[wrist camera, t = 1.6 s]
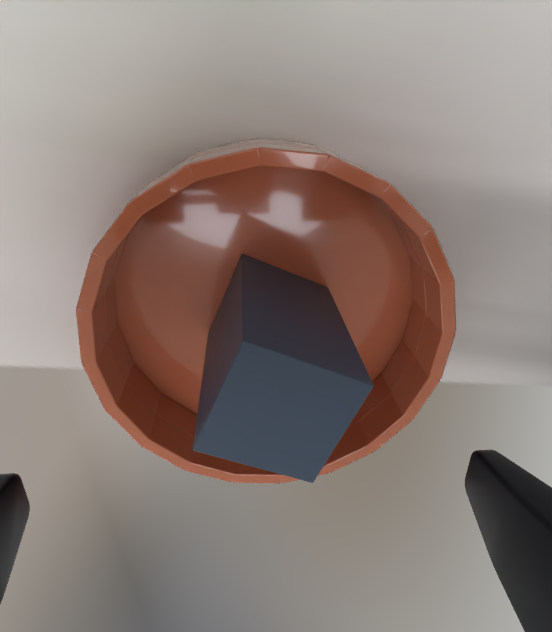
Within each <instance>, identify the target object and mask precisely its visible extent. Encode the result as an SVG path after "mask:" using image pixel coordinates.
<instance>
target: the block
mask: <svg viewBox="0 0 552 632" xmlns="http://www.w3.org/2000/svg"><path fill="white" fill-rule="evenodd" d="M373 386H374V385H373V383H372V381H371V378H370V376H369V374H368V372H367V370H366V368H365V365H364V363H363V361H362V359H361V357H360V355H359V353H358V350H357V348H356V346H355V344H354V342H353V340H352V338H351V335H350V333H349V331H348V329H347V327H346V325H345V323H344V320H343V318H342V316H341V314H340V312H339V310H338V308H337V305H336V303H335V301H334V299H333V297H332V295H331V293H330V290H329V288H328V287H326V286H323V285H321V284H318V283H316V282H313V281H311V280H308V279H306V278H303V277H300V276H298V275H295V274H293V273H290V272H288V271H285V270H283V269H280V268H278V267H275V266H273V265H270V264H267V263H265V262H262V261H260V260H257V259H255V258H252V257H250V256H247V255H245V254H241V256H240V259H239V261H238V264H237V266H236V268H235V271H234V273H233V275H232V278H231V280H230V282H229V285H228V287H227V290H226V292H225V294H224V297H223V299H222V301H221V304H220V306H219V309H218V311H217V313H216V316H215V318H214V320H213V323H212V325H211V328H210V330H209V332H208V338H207V346H206V353H205V361H204V368H203V376H202V383H201V390H200V398H199V405H198V413H197V420H196V428H195V435H194V443H193V450H194V451H197V452H201V453H204V454H208V455H212V456H215V457H219V458H223V459H226V460H230V461H234V462H237V463H241V464H245V465H248V466H252V467H256V468H259V469H263V470H267V471H270V472H274V473H278V474H281V475H285V476H289V477H293V478H296V479H300V480H304V481H307V482H311V483H313V482H314V480H315V479H316V477H317V476H318V474H319V473H320V471H321V469H322V468H323V466H324V465H325V463H326V461H327V460H328V458H329V457H330V455H331V453H332V452H333V450H334V449H335V447H336V445H337V444H338V442H339V441H340V439H341V438H342V436H343V434H344V433H345V431H346V430H347V428H348V426H349V425H350V423H351V422H352V420H353V418H354V417H355V415H356V414H357V412H358V410H359V409H360V407H361V406H362V404H363V403H364V401H365V399H366V398H367V396H368V395H369V393H370V391H371V390H372V388H373Z"/></svg>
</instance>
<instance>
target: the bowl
mask: <svg viewBox="0 0 552 632" xmlns="http://www.w3.org/2000/svg"><path fill="white" fill-rule="evenodd" d="M241 254H245V255H247V256H250V257H252V258H255V259H257V260H260V261H262V262H265V263H267V264H270V265H273V266H275V267H278V268H280V269H283V270H285V271H288V272H290V273H293V274H295V275H298V276H300V277H303V278H306V279H308V280H311V281H313V282H316V283H318V284H321V285H323V286H326V287H328V288H329V290H330V293H331V295H332V297H333V299H334V301H335V303H336V305H337V308H338V310H339V312H340V314H341V316H342V318H343V320H344V323H345V325H346V327H347V329H348V331H349V333H350V335H351V338H352V340H353V342H354V344H355V346H356V348H357V350H358V353H359V355H360V357H361V359H362V361H363V363H364V365H365V368H366V370H367V372H368V374H369V376H370V378H371V381H372V383H373V385H374V386H373V388H372V390H371V391H370V393H369V395H368V396H367V398H366V399H365V401H364V403H363V404H362V406H361V407H360V409H359V410H358V412H357V414H356V415H355V417H354V418H353V420H352V422H351V423H350V425H349V426H348V428H347V430H346V431H345V433H344V434H343V436H342V438H341V439H340V441H339V442H338V444H337V445H336V447H335V449H334V450H333V452H332V453H331V455H330V457H329V458H328V460H327V461H326V463H325V465H324V466H323V468H322V469H321V471H320V473H319V474H318V475H323V474H328V473H329V472H333V471H335V470H337V469H339V468H342V467H344V466H346V465H348V464H350V463H352V462H354V461H356V460H358V459H360V458H363V457H365V456H367V455H369V454H371V453H373V452H374V451H376V450H377V449H378V448H380V447H381V446H382V445H383V444H384V443H386V442H387V441H388V440H389V439H390V438H392V437H393V436H394V435H395V434H397V433H398V432H399V431H400V430H401V429H403V428H404V427H405V426H406V425H407V424H409V423H410V422H411V421H412V420H413V419H414V417H415V416H416V415H417V413H418V412H419V410H420V409H421V407H422V406H423V405H424V403H425V402H426V400H427V399H428V397H429V396H430V394H431V393H432V392H433V390H434V389H435V387H436V386H437V384H438V383H439V382H440V379H441V378H442V374H443V371H444V368H445V365H446V362H447V358H448V355H449V352H450V349H451V346H452V343H453V339H454V336H455V331H456V314H455V284H454V277H453V275H452V272H451V270H450V267H449V265H448V263H447V260H446V258H445V256H444V253H443V251H442V248H441V246H440V244H439V241H438V239H437V237H436V234H435V232H434V229H433V228H432V227H431V225H430V224H429V223H428V222H427V221H426V220H425V219H424V218H423V217H422V216H421V215H420V213H419V212H418V211H417V210H416V209H415V208H414V207H413V206H412V205H411V204H410V203H409V202H408V201H407V200H406V199H405V198H404V197H403V196H402V195H401V194H400V193H399V192H398V191H397V190H396V189H395V188H394V187H393V186H392V185H391V184H390V183H389V182H387V181H386V180H384V179H382V178H380V177H378V176H377V175H375V174H373V173H371V172H370V171H368V170H366V169H364V168H362V167H360V166H358V165H356V164H354V163H352V162H350V161H348V160H346V159H343V158H341V157H340V156H338V155H335V154H333V153H331V152H329V151H327V150H325V149H323V148H320V147H318V146H316V145H313V144H304V143H297V142H291V141H280V140H265V139H251V140H247V141H242V142H237V143H231V144H226V145H221V146H218V147H216V148H213V149H209V150H205V151H201V152H198V153H195V154H194V155H192V156H190V157H189V158H187V159H186V160H184V161H183V162H181V163H179V164H177V165H176V166H174V167H173V168H172V169H170V170H169V171H167V172H166V173H164V174H163V175H161V176H160V177H158V178H156V179H155V180H153V181H152V182H150V183H149V184H148V185H147V186H146V187H145V188H144V189H143V190H141V192H139V193H138V194H137V195H136V196H135V197H134V198H133V199H132V200H131V201H130V202H129V203H128V204H127V206H126V207H125V208H124V210H123V211H122V212H121V214H120V215H119V216H118V218H117V219H116V220H115V222H114V223H113V224H112V226H111V227H110V228H109V230H108V231H107V232H106V234H105V235H104V236H103V238H102V239H101V240H100V242H99V243H98V244H97V246H96V247H95V248H94V250H93V252H92V254H91V256H90V260H89V263H88V267H87V271H86V274H85V278H84V281H83V285H82V289H81V292H80V296H79V299H78V303H77V307H76V308H77V309H76V315H77V325H78V335H79V344H80V354H81V362H82V365H83V367H84V369H85V371H86V373H87V375H88V377H89V379H90V381H91V383H92V385H93V387H94V389H95V391H96V393H97V395H98V397H99V400H100V402H101V404H102V406H103V407H104V409H105V411H106V412H107V413H108V414H109V415H110V416H111V417H112V418H113V419H114V420H115V421H116V422H117V423H118V424H119V425H120V426H121V427H122V428H123V429H124V430H125V431H126V432H127V433H128V434H129V435H130V436H131V437H132V438H133V439H134V440H135V441H136V442H137V443H138V444H139V445H141V447H143V448H145V449H147V450H149V451H150V452H152V453H154V454H156V455H157V456H159V457H161V458H163V459H165V460H166V461H168V462H170V463H172V464H174V465H175V466H177V467H179V468H181V469H184V470H185V471H189V472H193V473H197V474H200V475H205V476H208V477H212V478H216V479H220V480H223V481H228V482H233V483H286V482H291V481H295V480H300V479H296V478H293V477H289V476H285V475H281V474H278V473H274V472H270V471H267V470H263V469H259V468H256V467H252V466H248V465H245V464H241V463H237V462H234V461H230V460H226V459H223V458H219V457H215V456H212V455H208V454H204V453H201V452H197V451H194V450H193V443H194V435H195V428H196V420H197V413H198V405H199V398H200V390H201V383H202V376H203V368H204V361H205V353H206V346H207V338H208V332H209V330H210V328H211V325H212V323H213V320H214V318H215V316H216V313H217V311H218V309H219V306H220V304H221V301H222V299H223V297H224V294H225V292H226V290H227V287H228V285H229V282H230V280H231V278H232V275H233V273H234V271H235V268H236V266H237V264H238V261H239V259H240V256H241Z"/></svg>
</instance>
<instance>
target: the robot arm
mask: <svg viewBox="0 0 552 632" xmlns="http://www.w3.org/2000/svg"><path fill="white" fill-rule="evenodd" d="M465 488H466V492H467V495H468V498H469V501H470V504H471V506H472V509H473V512H474V515H475V517H476V520H477V523H478V525H479V528H480V531H481V534H482V536H483V539H484V542H485V545H486V547H487V550H488V553H489V556H490V558H491V561H492V563H493V566H494V568H495V570H496V572H497V574H498V577H499V579H500V581H501V583H502V585H503V587H504V589H505V591H506V593H507V596H508V598H509V600H510V602H511V604H512V606H513V608H514V610H515V612H516V614H517V616H518V619H519V621H520V623H521V625H522V627H523V629H524V631H525V632H552V488H551V487H550V486H548V485H547V484H545V483H544V482H542V481H540V480H539V479H538V478H536V477H535V476H533V475H532V474H530V473H529V472H527V471H526V470H524V469H522V468H521V467H520V466H518V465H516V464H515V463H514V462H512V461H510V460H509V459H507V458H506V457H504V456H503V455H501V454H500V453H498V452H496V451H494V450H478V451H474V452H473V453H472V455H471V458H470V462H469V466H468V470H467V473H466V477H465ZM29 509H30V506H29V501H28V498H27V495H26V492H25V489H24V486H23V483H22V480H21V478H20V476H19V475H18V474H15V473H11V474H0V604H1V601H2V599H3V596H4V593H5V590H6V587H7V584H8V581H9V577H10V574H11V571H12V567H13V565H14V561H15V558H16V555H17V552H18V548H19V545H20V542H21V539H22V536H23V532H24V529H25V526H26V523H27V520H28V516H29V511H30V510H29Z"/></svg>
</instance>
